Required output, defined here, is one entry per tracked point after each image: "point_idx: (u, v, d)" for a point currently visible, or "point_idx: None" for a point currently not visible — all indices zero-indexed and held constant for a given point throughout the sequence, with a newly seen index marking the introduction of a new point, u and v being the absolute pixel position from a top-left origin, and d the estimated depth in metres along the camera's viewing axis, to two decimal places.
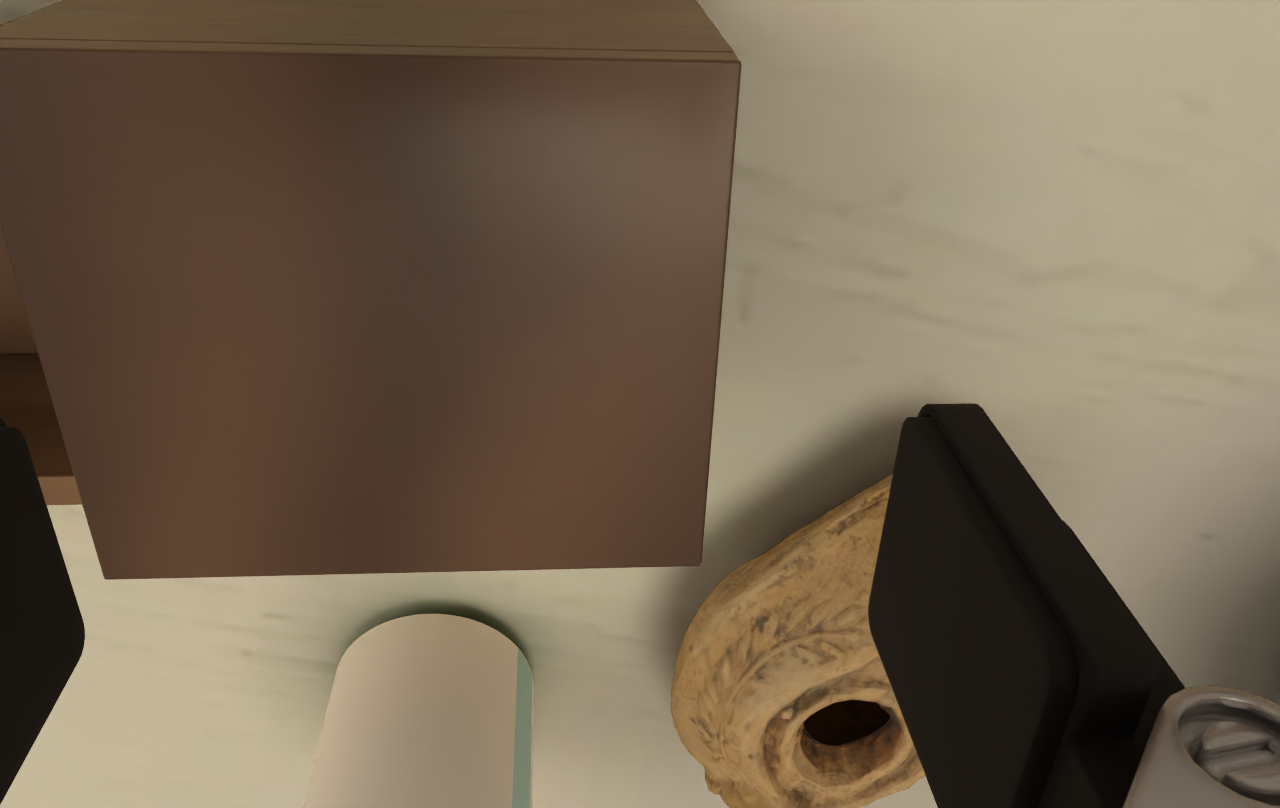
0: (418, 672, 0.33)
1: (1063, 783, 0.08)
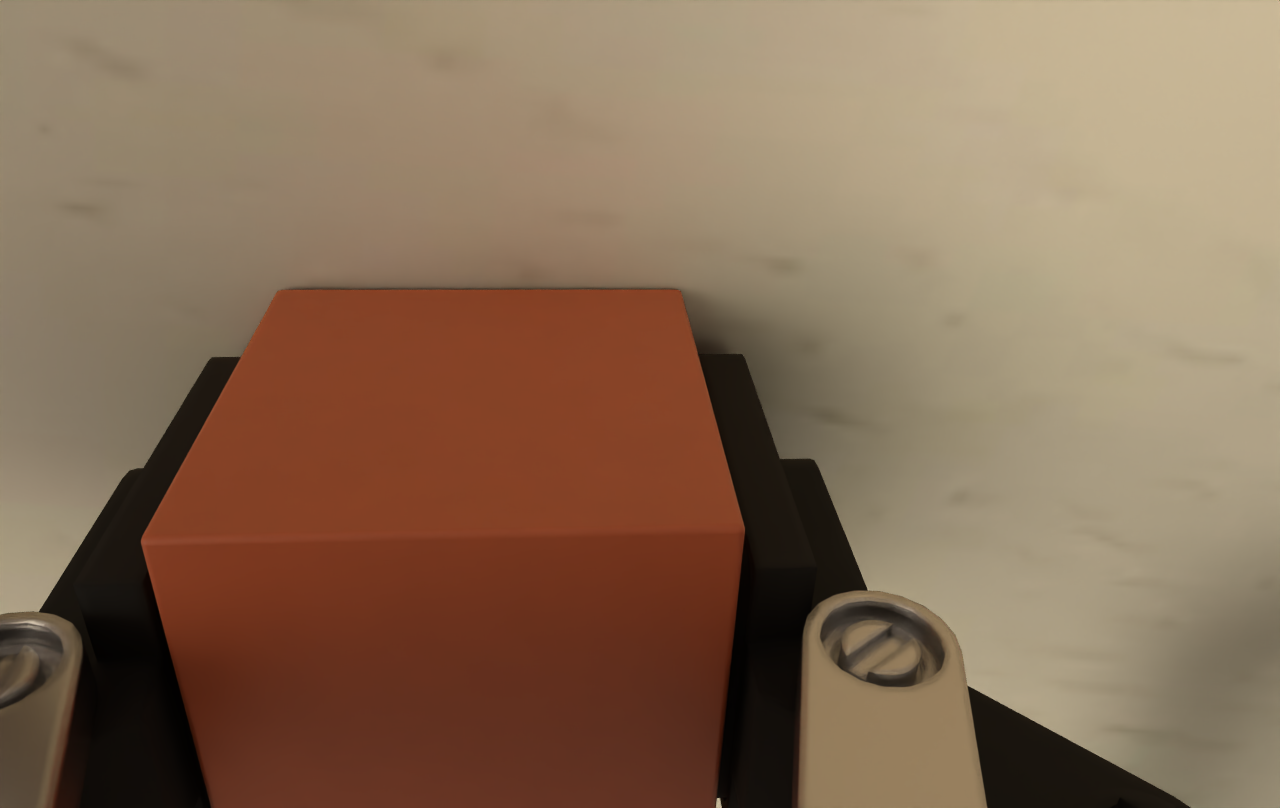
0: None
1: (745, 682, 0.09)
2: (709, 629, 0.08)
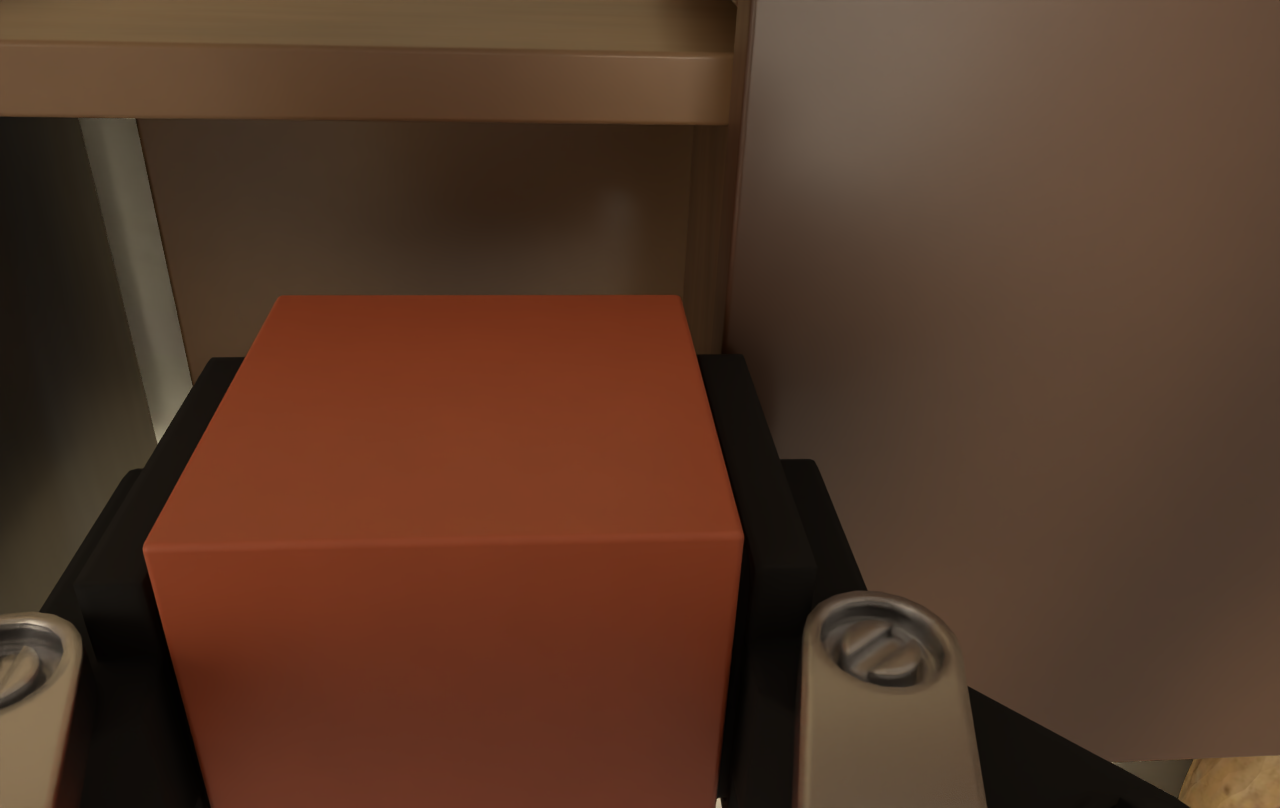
0: None
1: (744, 682, 0.09)
2: (708, 635, 0.08)
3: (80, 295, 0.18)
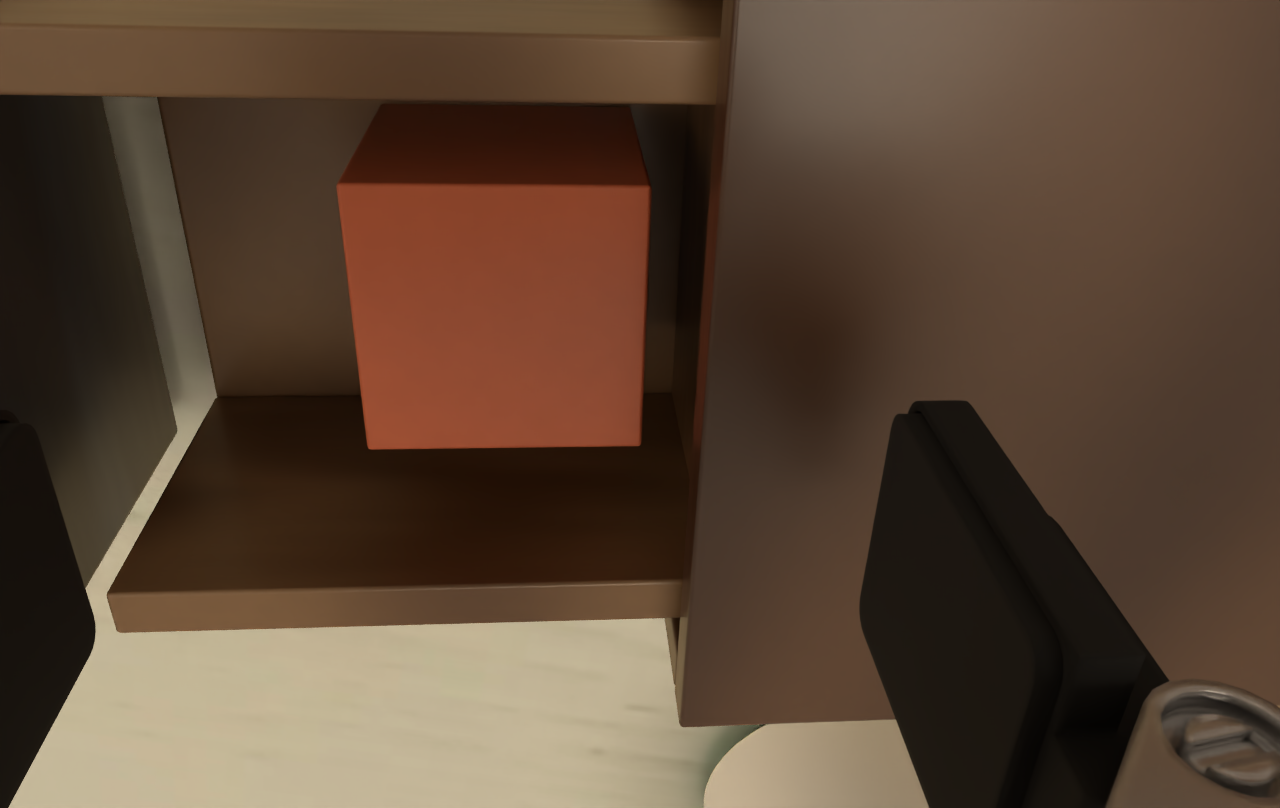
0: (863, 789, 0.26)
1: (1047, 776, 0.08)
2: (635, 252, 0.15)
3: (105, 273, 0.19)
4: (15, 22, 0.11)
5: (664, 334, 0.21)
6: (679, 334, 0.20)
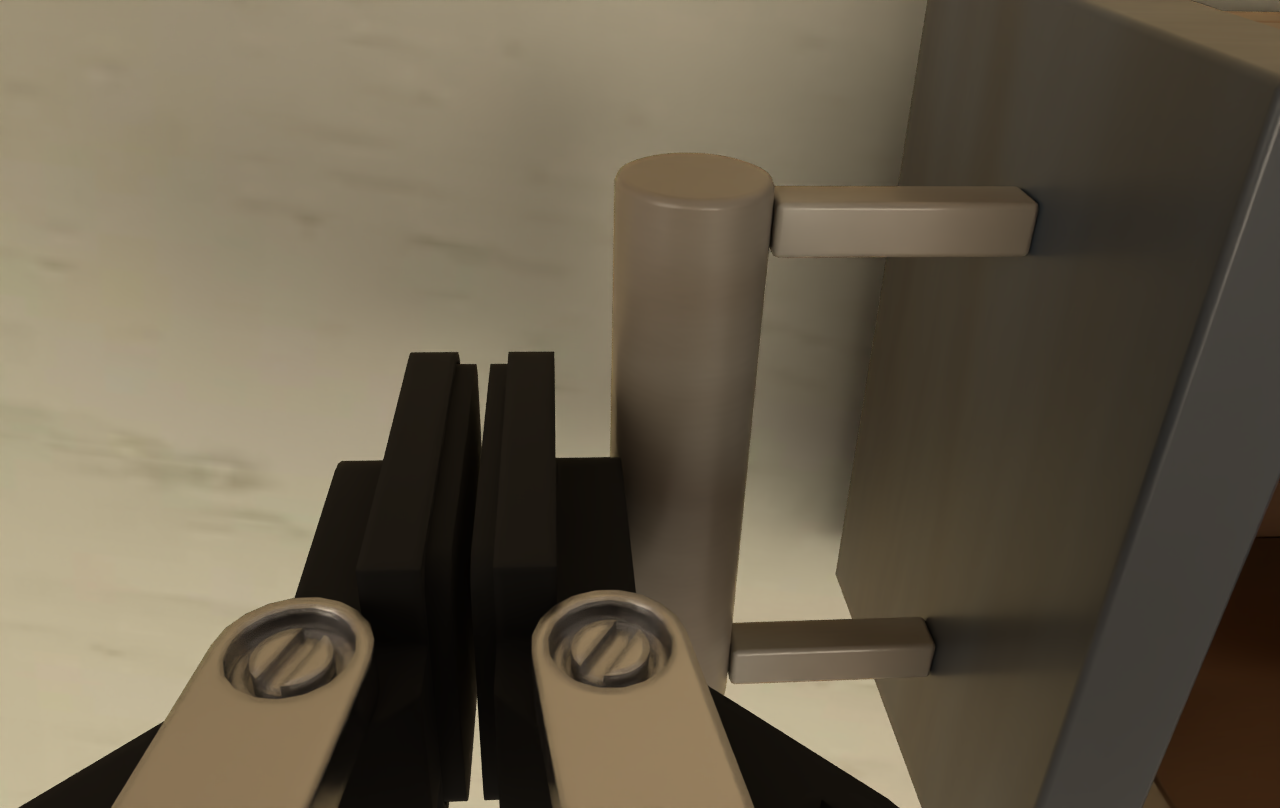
0: None
1: None
2: None
3: None
4: None
5: None
6: None
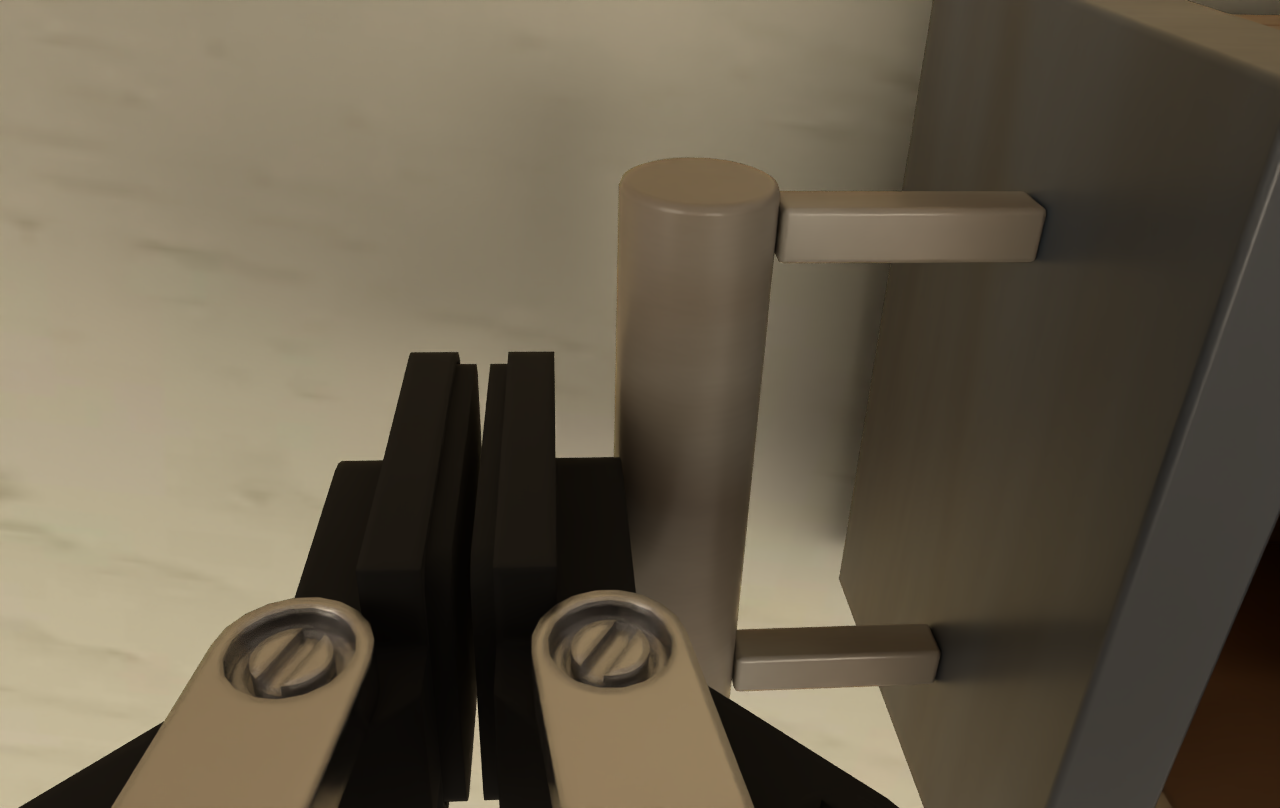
0: None
1: None
2: None
3: None
4: None
5: None
6: None
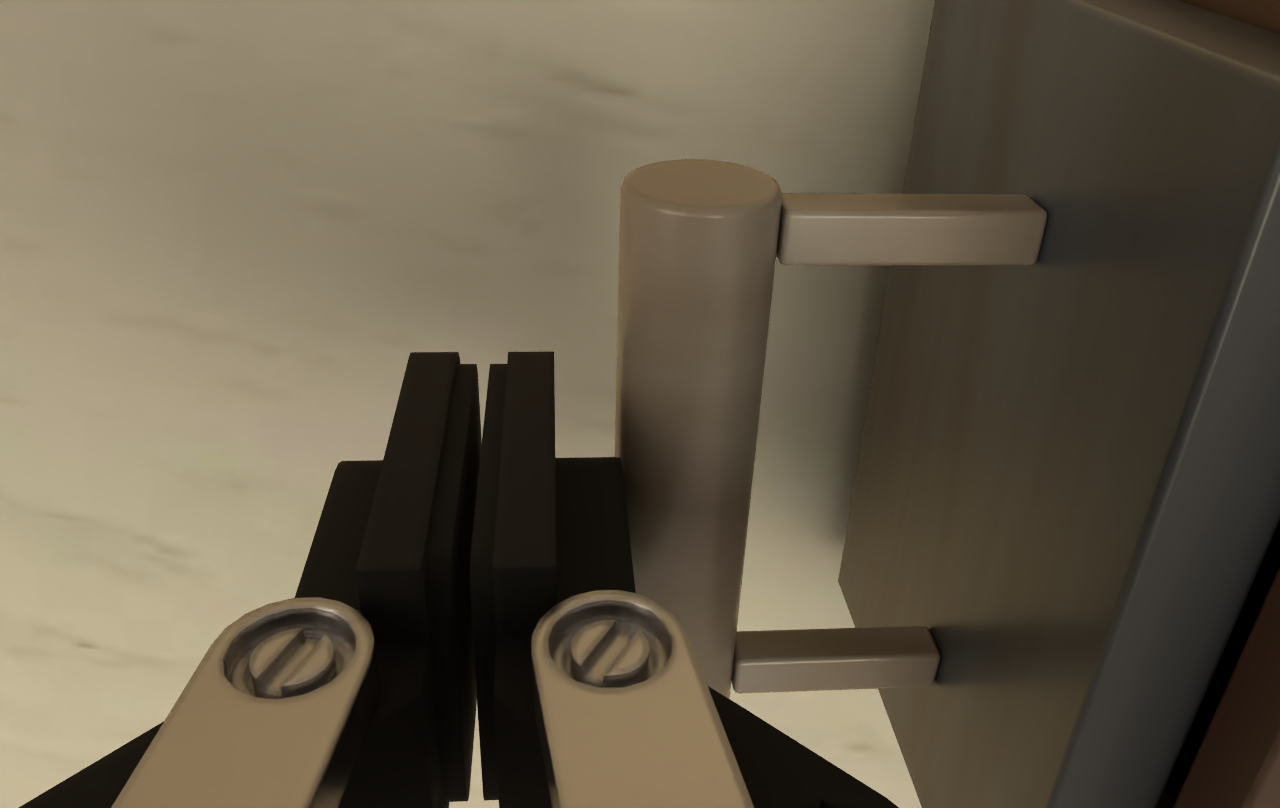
0: None
1: None
2: None
3: None
4: None
5: None
6: None
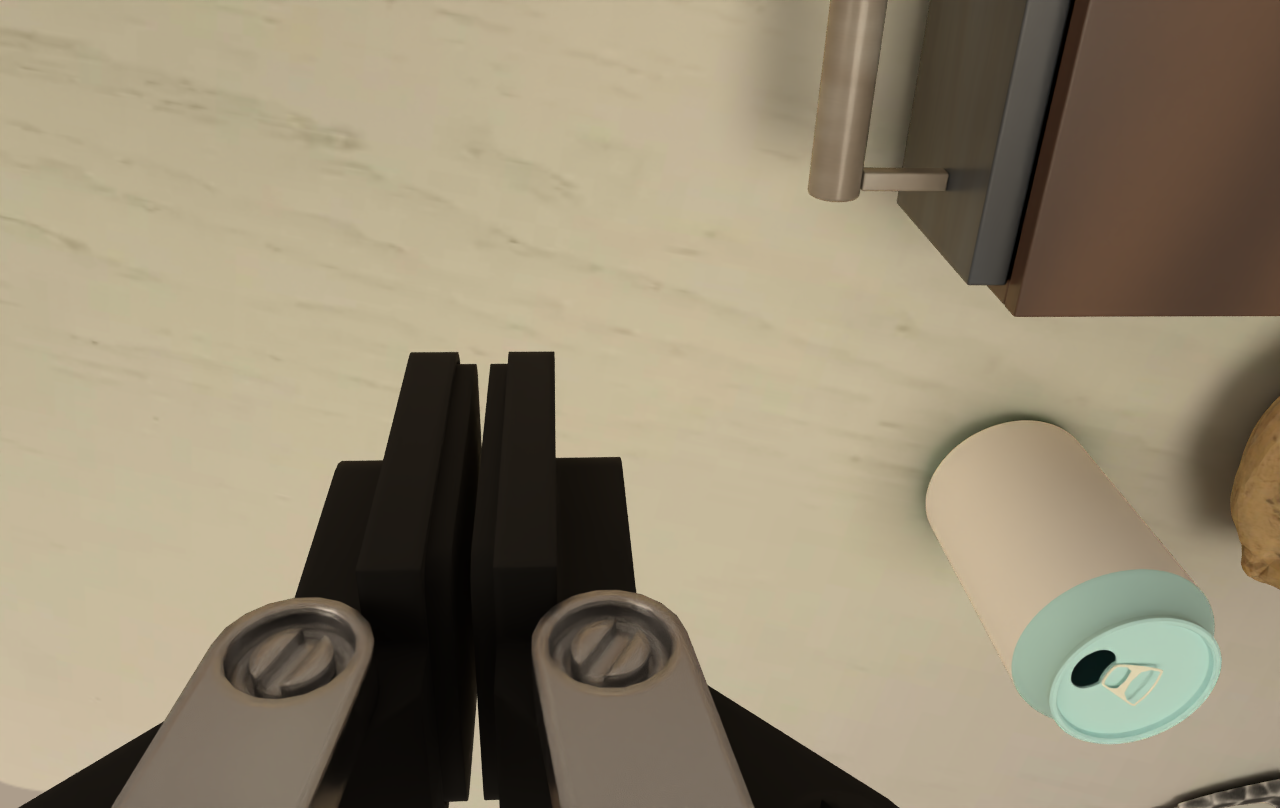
0: (1052, 456, 0.40)
1: None
2: None
3: None
4: None
5: None
6: None
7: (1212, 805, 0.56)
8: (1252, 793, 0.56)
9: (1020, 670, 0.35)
